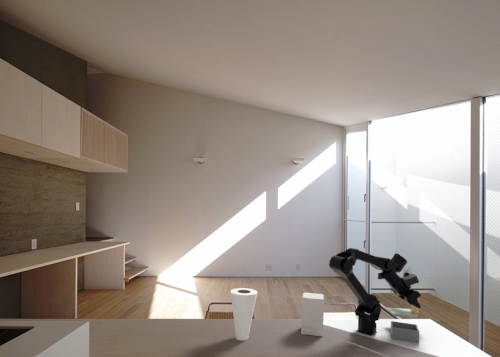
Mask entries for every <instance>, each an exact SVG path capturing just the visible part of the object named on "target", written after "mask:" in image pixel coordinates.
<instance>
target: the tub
mask: <svg viewBox="0 0 500 357" xmlns="http://www.w3.org/2000/svg"><path fill="white" fill-rule="evenodd" d="M390 336H391V337H390V338H391V339H392V340H398V341H404V342H408V343H409V342H410V343H416V344H420V330H419V328H418V325H417V324H414V323H408V322H402V321H401V322H399V321H394V320H393V321H392V320H391V321H390Z"/></svg>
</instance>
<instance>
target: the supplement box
mask: <svg viewBox="0 0 500 357" xmlns="http://www.w3.org/2000/svg"><path fill="white" fill-rule="evenodd" d="M301 300H302V303H301V304H302V305H301V323H300V324H301V327H300V334H301V335H308V336H315V337H323V336H324V335H323V333H324V317H325V316H324V311H325V310H324V309H325V299H324V294H323V293H315V292H314V293H312V292H303V293H302V299H301Z"/></svg>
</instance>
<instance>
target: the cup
mask: <svg viewBox="0 0 500 357" xmlns="http://www.w3.org/2000/svg"><path fill="white" fill-rule="evenodd" d="M257 298H258V290H256V289H254V288H248V287H239V288H238V287H236V288H233V289H231V290H230V299H231V308H232V314H233V322H234V325H233V326H234V331H235V332H234V333H235V340H237V341H241V342H242V341H244V342H245V341H248V339H249V336H250V330H251V326H252V321H253V316H254V312H255V306H256V301H257Z"/></svg>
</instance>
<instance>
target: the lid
mask: <svg viewBox="0 0 500 357" xmlns="http://www.w3.org/2000/svg"><path fill="white" fill-rule="evenodd" d="M417 300H418V302H419V303H420V297H419V298H418V299H417ZM410 306H411V307H410V308H398V307H386V310H387V311H388V312H390V314H391V315H393V316H394V317H398V318H399V317H400V318H401V317H404V318H415V317H416V318H417V317H419V314H420V308H417V307H415V306H413V305H411V304H410Z"/></svg>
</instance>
